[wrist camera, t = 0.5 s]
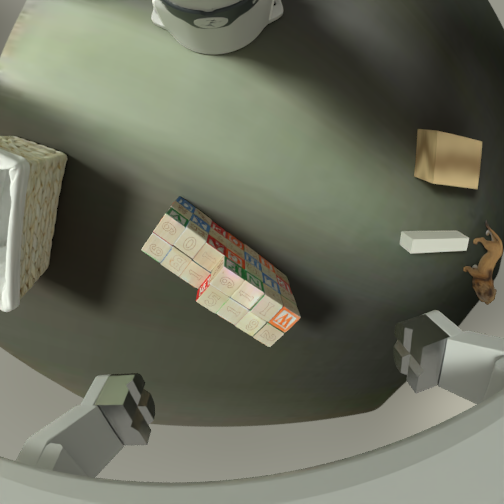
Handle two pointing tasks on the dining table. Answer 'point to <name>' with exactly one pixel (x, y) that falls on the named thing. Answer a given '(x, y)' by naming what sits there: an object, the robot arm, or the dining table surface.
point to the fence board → (433, 241)
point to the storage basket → (26, 214)
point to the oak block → (447, 159)
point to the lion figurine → (486, 267)
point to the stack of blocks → (224, 273)
